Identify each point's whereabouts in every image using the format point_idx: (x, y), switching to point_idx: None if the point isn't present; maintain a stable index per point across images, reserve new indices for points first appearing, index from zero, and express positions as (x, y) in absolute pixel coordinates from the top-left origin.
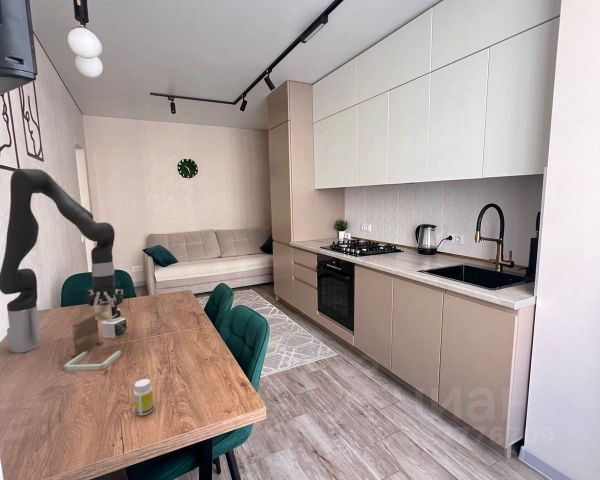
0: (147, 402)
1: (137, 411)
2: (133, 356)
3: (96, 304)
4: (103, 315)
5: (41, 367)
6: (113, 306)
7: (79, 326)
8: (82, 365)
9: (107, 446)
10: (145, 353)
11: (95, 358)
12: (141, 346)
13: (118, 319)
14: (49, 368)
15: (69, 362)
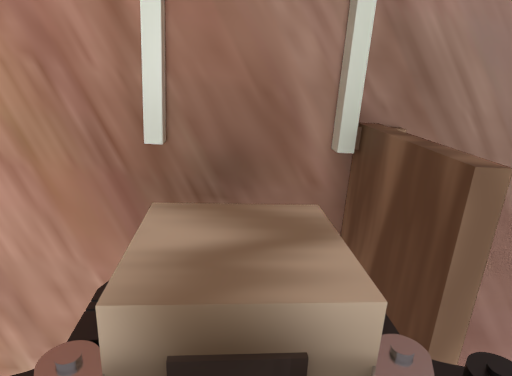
0: None
1: None
2: (58, 104)
3: (382, 373)
4: (224, 223)
5: (499, 24)
6: (72, 347)
7: (450, 193)
8: None
9: None
10: (6, 137)
11: (267, 102)
12: (86, 230)
13: None
14: (454, 4)
15: (367, 11)
